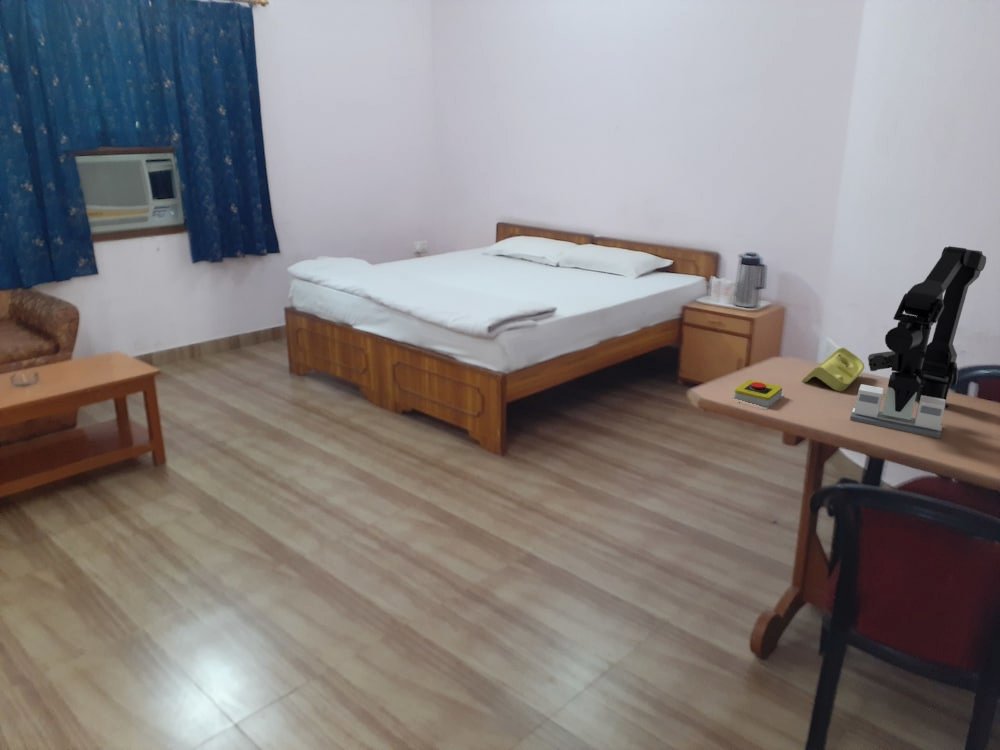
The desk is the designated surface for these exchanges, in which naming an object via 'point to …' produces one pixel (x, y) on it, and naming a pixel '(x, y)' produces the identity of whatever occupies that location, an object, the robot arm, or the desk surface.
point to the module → (890, 406)
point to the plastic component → (838, 370)
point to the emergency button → (758, 393)
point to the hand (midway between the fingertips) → (898, 408)
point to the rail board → (922, 424)
